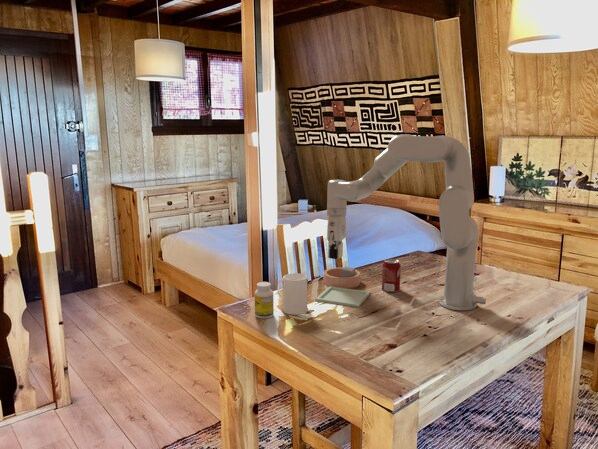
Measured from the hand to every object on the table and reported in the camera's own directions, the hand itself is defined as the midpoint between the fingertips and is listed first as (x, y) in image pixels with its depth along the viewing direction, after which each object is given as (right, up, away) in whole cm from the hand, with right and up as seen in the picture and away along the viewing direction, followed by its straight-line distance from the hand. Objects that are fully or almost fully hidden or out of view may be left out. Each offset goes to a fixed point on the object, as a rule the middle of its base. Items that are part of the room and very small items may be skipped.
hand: (335, 256), depth 197 cm
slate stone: (+5, -10, 0) cm, 11 cm away
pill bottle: (-26, -18, -32) cm, 45 cm away
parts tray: (+2, -14, -16) cm, 21 cm away
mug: (-17, -17, -26) cm, 35 cm away
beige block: (0, 0, 0) cm, 0 cm away
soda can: (+20, -13, -7) cm, 25 cm away
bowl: (+3, -11, +1) cm, 11 cm away
